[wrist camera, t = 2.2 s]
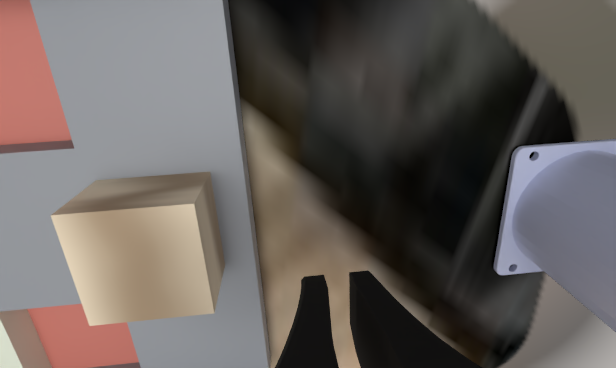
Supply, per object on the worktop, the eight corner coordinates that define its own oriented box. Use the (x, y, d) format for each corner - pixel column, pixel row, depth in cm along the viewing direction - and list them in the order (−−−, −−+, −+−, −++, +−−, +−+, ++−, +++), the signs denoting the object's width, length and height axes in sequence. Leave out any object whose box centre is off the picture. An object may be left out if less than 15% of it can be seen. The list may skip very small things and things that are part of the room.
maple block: (210, 171, 16) (194, 203, 13) (225, 264, 18) (214, 313, 15) (96, 180, 16) (50, 215, 13) (123, 274, 18) (89, 325, 15)
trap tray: (223, -38, 15) (200, -74, 10) (270, 356, 23) (269, 434, 19) (-260, -19, 14) (-527, -49, 9) (-32, 389, 22) (-113, 481, 17)
